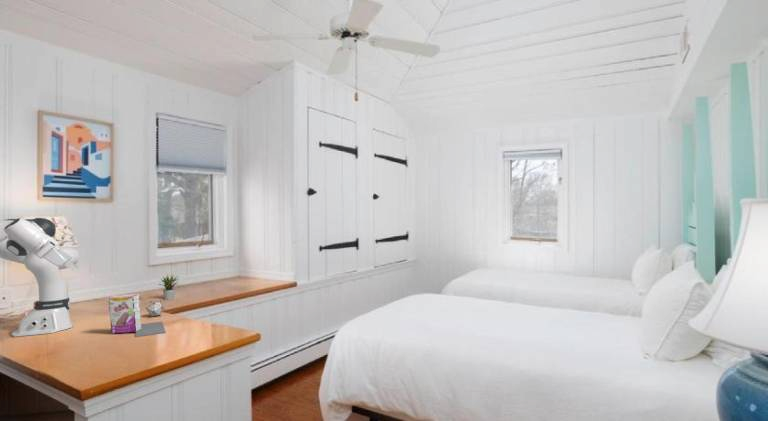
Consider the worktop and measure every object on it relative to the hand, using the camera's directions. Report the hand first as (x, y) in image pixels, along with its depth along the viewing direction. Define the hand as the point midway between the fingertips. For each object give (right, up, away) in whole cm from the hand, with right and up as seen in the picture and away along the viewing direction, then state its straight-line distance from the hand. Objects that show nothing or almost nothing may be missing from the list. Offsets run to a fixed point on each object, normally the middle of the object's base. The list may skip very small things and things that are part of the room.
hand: (76, 269), depth 186 cm
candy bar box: (+17, -30, +9) cm, 35 cm away
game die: (+12, -31, +41) cm, 53 cm away
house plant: (-4, -32, +90) cm, 96 cm away
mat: (+25, -30, +14) cm, 41 cm away
